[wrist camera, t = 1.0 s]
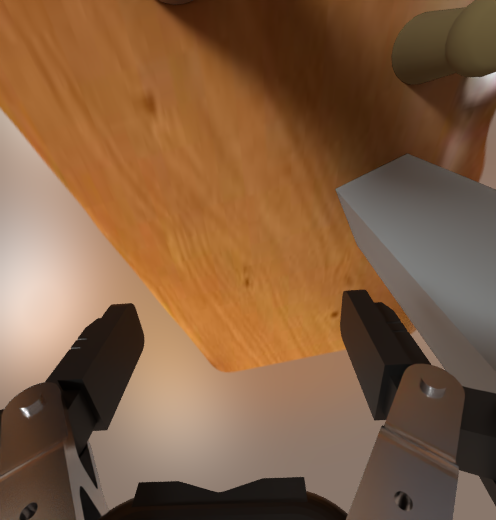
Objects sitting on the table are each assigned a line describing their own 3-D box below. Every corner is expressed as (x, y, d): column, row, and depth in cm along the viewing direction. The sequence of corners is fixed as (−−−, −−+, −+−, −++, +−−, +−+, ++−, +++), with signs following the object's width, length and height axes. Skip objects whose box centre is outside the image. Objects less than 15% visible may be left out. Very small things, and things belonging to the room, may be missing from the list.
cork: (448, 78, 31) (537, 74, 21) (389, 90, 31) (451, 91, 22) (458, 4, 28) (568, -39, 18) (393, 19, 28) (467, -16, 19)
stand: (333, 188, 37) (593, 490, 9) (408, 151, 35) (1050, 402, 7) (356, 246, 41) (581, 572, 13) (424, 216, 39) (865, 534, 11)
